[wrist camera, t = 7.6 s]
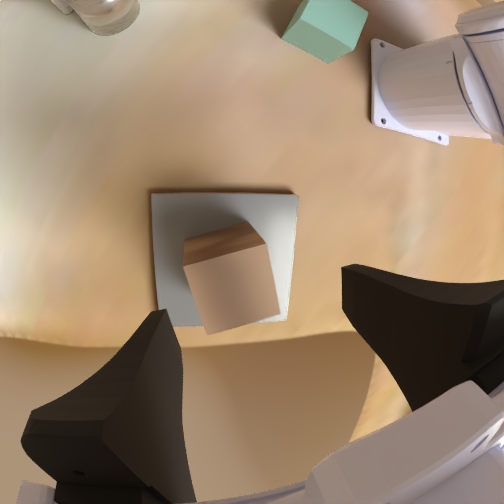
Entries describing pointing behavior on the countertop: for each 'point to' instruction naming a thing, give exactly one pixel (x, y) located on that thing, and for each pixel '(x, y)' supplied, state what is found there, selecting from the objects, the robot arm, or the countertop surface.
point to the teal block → (326, 27)
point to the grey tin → (106, 14)
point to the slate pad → (211, 219)
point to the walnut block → (230, 277)
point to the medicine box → (63, 6)
